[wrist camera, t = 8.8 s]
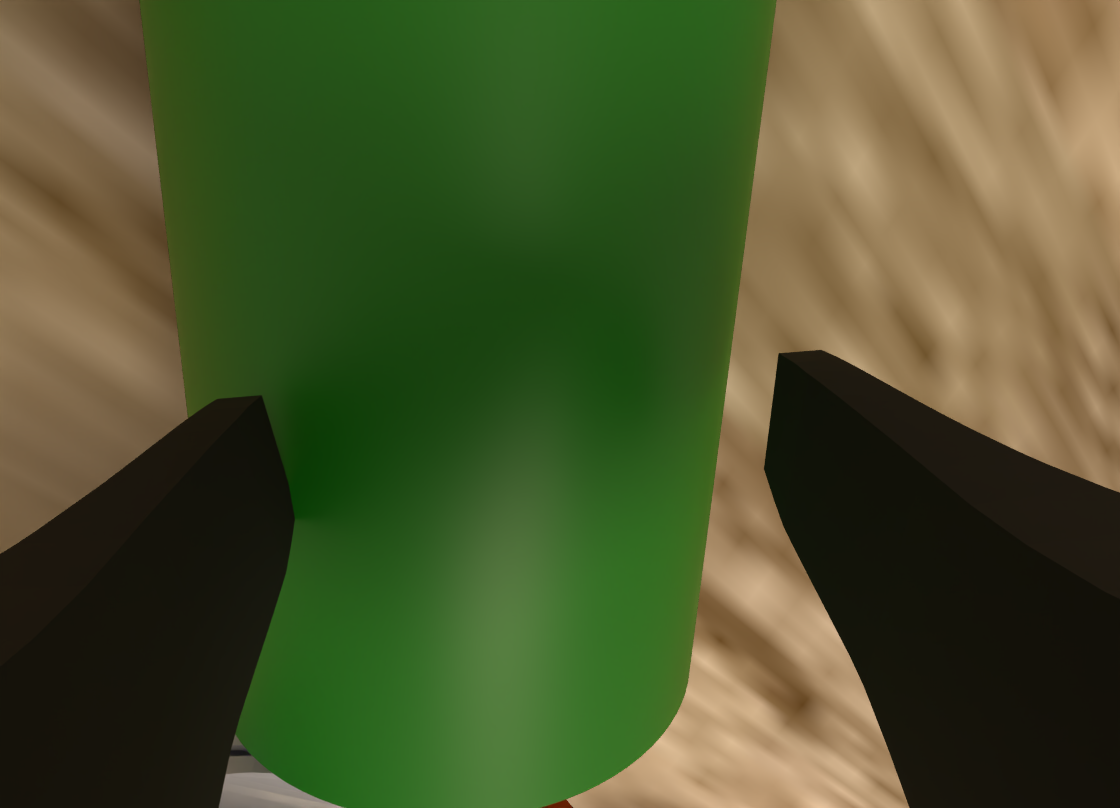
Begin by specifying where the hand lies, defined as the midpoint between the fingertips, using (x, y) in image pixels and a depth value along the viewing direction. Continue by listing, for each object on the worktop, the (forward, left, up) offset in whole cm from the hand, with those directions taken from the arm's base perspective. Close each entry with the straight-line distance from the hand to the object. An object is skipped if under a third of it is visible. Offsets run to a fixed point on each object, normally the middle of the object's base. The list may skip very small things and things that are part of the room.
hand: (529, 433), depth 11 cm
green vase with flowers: (+8, -1, -6) cm, 10 cm away
